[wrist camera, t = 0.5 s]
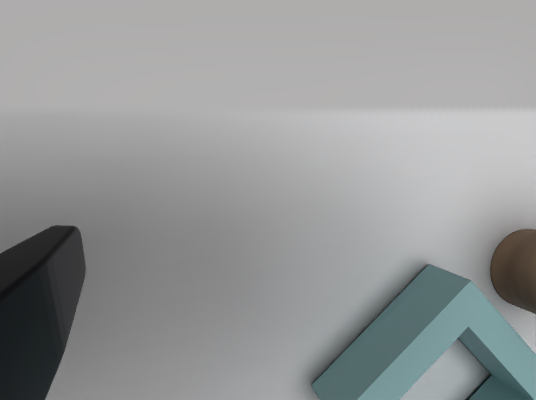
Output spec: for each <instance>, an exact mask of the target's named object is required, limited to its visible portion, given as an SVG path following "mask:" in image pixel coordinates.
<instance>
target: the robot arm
mask: <svg viewBox="0 0 536 400" xmlns="http://www.w3.org/2000/svg"><path fill="white" fill-rule="evenodd" d="M85 271H86V266H85V259H84V252H83V245H82V239H81V233H80V231H79V229H78V228H77V227H76V226H60V225H55V226H52V227H50V228H48V229H46V230H44V231H42V232H40V233H38V234H36V235H34V236H33V237H31V238H29V239H27V240H25V241H23V242H21V243H19V244H17V245H15V246H14V247H12V248H10V249H8V250H6V251H4V252H2V253H0V400H45V398H46V396H47V394H48V391H49V389H50V386H51V384H52V381H53V379H54V377H55V374H56V372H57V369H58V367H59V364H60V362H61V359H62V356H63V354H64V351H65V347H66V344H67V341H68V337H69V334H70V330H71V326H72V323H73V319H74V315H75V312H76V308H77V304H78V301H79V297H80V293H81V290H82V286H83V282H84V279H85Z"/></svg>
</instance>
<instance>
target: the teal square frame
mask: <svg viewBox="0 0 536 400" xmlns="http://www.w3.org/2000/svg"><path fill="white" fill-rule="evenodd" d="M457 338H459V339H460V340H461V342H462V343H463V344H464V345H465V346H466V347H467V348H468V349H469V350H470V351H471V352H472V354H473V355H474V356H475V357H476V358H477V359H478V360H479V361H480V362H481V363H482V365H483V366H484V367H485V368H486V369H487V370H488V371H489V372H490V373H491V374H492V375H491V376H490V377H489V378H488V379H487V381H486V382H485V383H484V384H483V385H482V386H481V387H480V388H479V389H478V390H477V391H476V392H475V393H474V395H473V396H472V397H471V398H470V399H469V400H536V354H535V353H534V352H533V351H532V350H531V348H530V347H529V346H528V345H527V344H526V343H525V342H524V340H523V339H522V338H521V337H520V336H519V335H518V334H517V332H516V331H515V330H514V329H513V328H512V327H511V326H510V324H509V323H508V322H507V321H506V320H505V319H504V318H503V316H502V315H501V314H500V313H499V312H498V311H497V310H496V308H495V307H494V306H493V305H492V304H491V303H490V302H489V300H488V299H487V298H486V297H485V296H484V295H483V294H482V292H481V291H480V290H479V289H478V288H477V287H476V286H475V284H474V283H473V282H472V281H471V280H469V279H466V278H464V277H461V276H458V275H456V274H453V273H451V272H448V271H446V270H443V269H441V268H438V267H435V266H433V265H430V264H429V265H428V266H427V267H426V268H425V269H424V270H423V271H422V272H421V273H420V274H419V275H418V276H417V277H416V278H415V279H414V280H413V281H412V282H411V283H410V284H409V285H408V286H407V287H406V288H405V289H404V290H403V291H402V292H401V293H400V295H399V296H398V297H397V298H396V299H395V300H394V301H393V302H392V303H391V304H390V305H389V306H388V307H387V308H386V309H385V310H384V311H383V312H382V313H381V314H380V315H379V316H378V317H377V318H376V319H375V320H374V321H373V322H372V323H371V324H370V325H369V326H368V327H367V329H366V330H365V331H364V332H363V333H362V334H361V335H360V336H359V337H358V338H357V339H356V340H355V341H354V342H353V343H352V344H351V345H350V346H349V347H348V348H347V349H346V350H345V351H344V352H343V353H342V354H341V355H340V356H339V357H338V358H337V359H336V360H335V362H334V363H333V364H332V365H331V366H330V367H329V368H328V369H327V370H326V371H325V372H324V373H323V374H322V375H321V376H320V377H319V378H318V379H317V380H316V381H315V382H314V383H313V384H312V385H311V386H312V388H313V389H314V391H315V392H316V394H317V396H318V397H319V399H320V400H399V399H400V398H401V397H402V396H403V395H404V394H405V393H406V392H407V391H408V390H409V389H410V388H411V387H412V386H413V384H414V383H415V382H416V381H417V380H418V379H419V378H420V377H421V376H422V375H423V374H424V373H425V372H426V371H427V370H428V369H429V368H430V366H431V365H432V364H433V363H434V362H435V361H436V360H437V359H438V358H439V357H440V356H441V355H442V354H443V353H444V352H445V351H446V350H447V348H448V347H449V346H450V345H451V344H452V343H453V342H454V341H455V340H456V339H457Z"/></svg>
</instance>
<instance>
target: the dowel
mask: <svg viewBox="0 0 536 400" xmlns="http://www.w3.org/2000/svg"><path fill="white" fill-rule="evenodd" d="M491 280H492V283H493V286H494V288H495V290H496V292H497V293H498V294H499V296H500V297H501V298H503V299H504V300H505V301H507V302H508V303H511V304H513V305H515V306H518V307H520V308H522V309H525V310H527V311H530V312H532V313H535V314H536V230H532V229H524V230H519V231H516V232H514V233H512V234H510V235H509V236H507V237H506V238H505V239H504V240H503V241H502V242H501V243H500V244H499V246H498V247H497V249H496V251H495V253H494V255H493V258H492V262H491Z"/></svg>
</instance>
